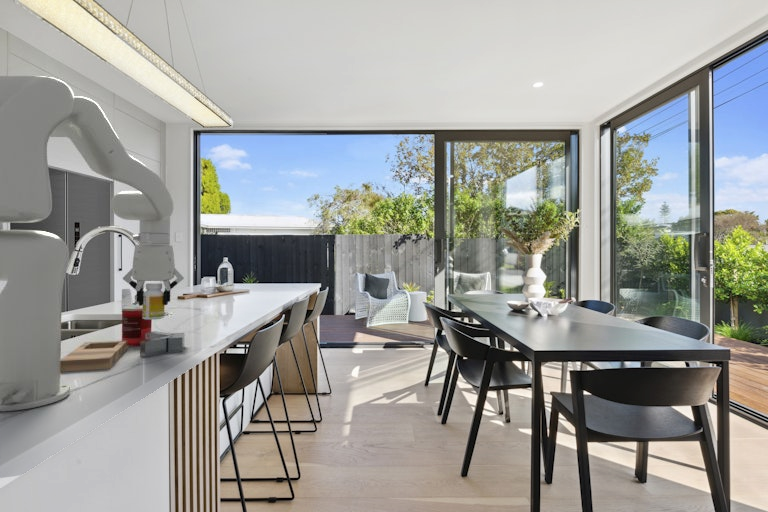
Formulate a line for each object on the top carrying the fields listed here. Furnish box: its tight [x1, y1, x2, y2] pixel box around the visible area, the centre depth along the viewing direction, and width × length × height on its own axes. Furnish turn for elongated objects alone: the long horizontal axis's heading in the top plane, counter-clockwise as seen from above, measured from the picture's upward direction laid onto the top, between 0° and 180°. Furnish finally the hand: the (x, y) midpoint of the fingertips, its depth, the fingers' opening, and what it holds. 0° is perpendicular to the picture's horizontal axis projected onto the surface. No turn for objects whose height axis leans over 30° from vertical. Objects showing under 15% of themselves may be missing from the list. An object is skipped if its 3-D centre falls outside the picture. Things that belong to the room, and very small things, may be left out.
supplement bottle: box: [143, 282, 165, 320], centre depth 118 cm, size 5×5×10 cm
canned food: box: [121, 304, 152, 347], centre depth 126 cm, size 8×8×11 cm
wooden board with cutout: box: [60, 340, 128, 373], centre depth 107 cm, size 20×10×2 cm, turn 21°
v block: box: [139, 330, 186, 358], centre depth 119 cm, size 10×16×4 cm, turn 21°
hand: (153, 304), depth 118 cm, fingers closed on supplement bottle, 5 cm apart
